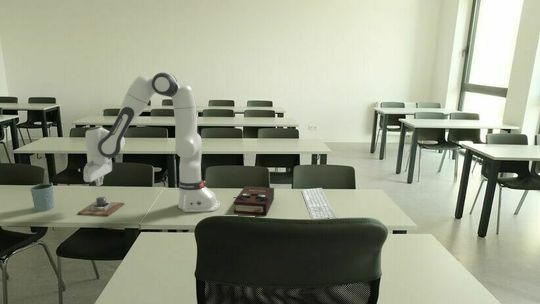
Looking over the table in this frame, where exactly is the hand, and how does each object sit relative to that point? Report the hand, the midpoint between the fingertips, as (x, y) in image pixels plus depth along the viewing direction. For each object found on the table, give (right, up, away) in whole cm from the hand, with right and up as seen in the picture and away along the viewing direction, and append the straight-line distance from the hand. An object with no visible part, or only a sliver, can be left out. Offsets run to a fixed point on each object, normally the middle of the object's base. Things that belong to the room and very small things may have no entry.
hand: (99, 185), depth 193 cm
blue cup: (-30, -13, +4) cm, 33 cm away
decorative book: (+79, -13, +11) cm, 81 cm away
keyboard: (+113, -12, +15) cm, 115 cm away
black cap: (0, -12, +3) cm, 12 cm away
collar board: (0, -13, +3) cm, 13 cm away
